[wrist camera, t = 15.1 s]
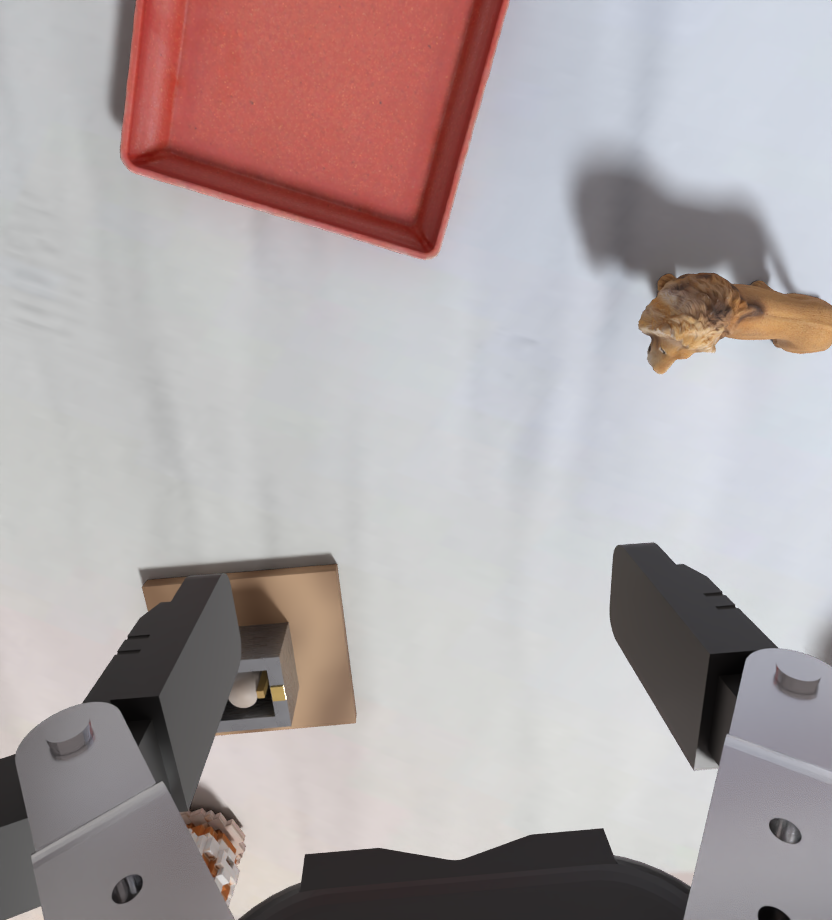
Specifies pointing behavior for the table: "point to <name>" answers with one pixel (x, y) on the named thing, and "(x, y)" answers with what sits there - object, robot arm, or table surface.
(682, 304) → the lion figurine
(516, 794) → the table surface
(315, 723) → the tan square baseplate
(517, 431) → the table surface
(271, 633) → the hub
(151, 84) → the plant saucer
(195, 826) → the decorative ornament
